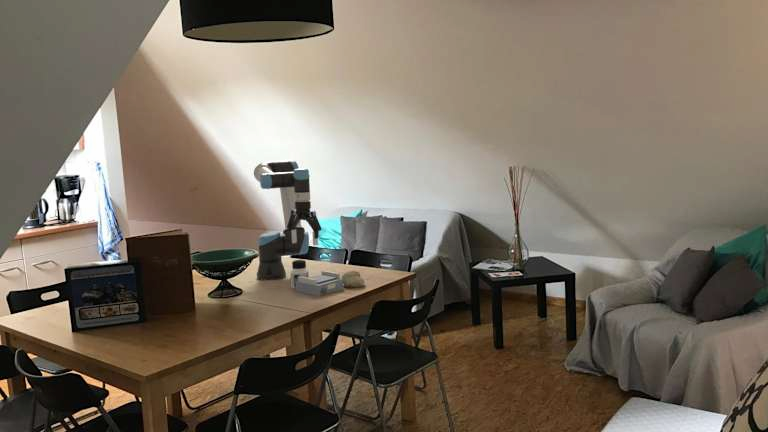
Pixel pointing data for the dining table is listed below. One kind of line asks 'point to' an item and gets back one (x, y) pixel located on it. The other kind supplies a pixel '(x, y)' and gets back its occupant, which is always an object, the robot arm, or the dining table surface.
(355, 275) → the decorative item
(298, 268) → the container
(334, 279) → the grey low rectangular block
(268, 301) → the dining table surface
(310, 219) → the robot arm
